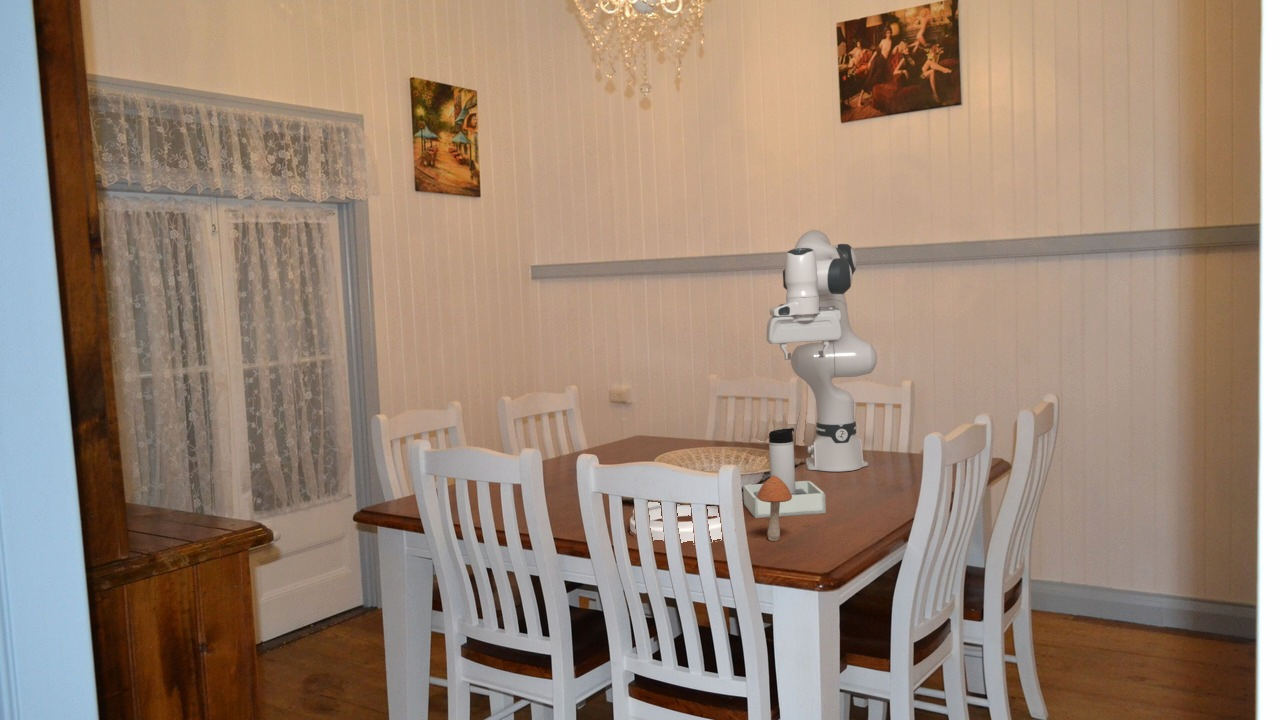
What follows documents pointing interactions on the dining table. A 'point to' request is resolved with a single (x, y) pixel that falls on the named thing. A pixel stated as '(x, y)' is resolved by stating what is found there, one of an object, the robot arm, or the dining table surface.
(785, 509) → the crate
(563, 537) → the dining table surface
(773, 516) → the mushroom
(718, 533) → the plate
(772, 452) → the travel mug
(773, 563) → the dining table surface
